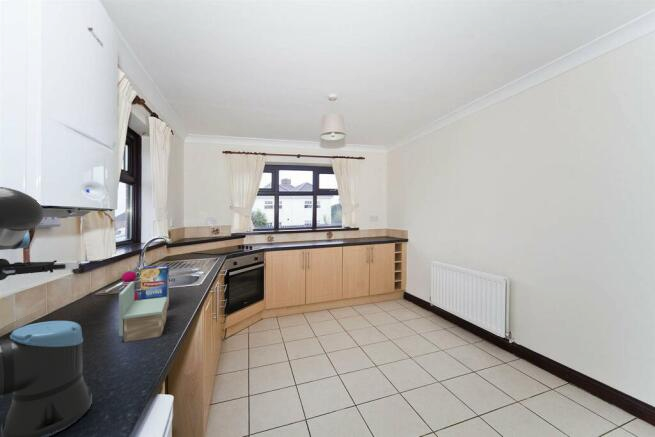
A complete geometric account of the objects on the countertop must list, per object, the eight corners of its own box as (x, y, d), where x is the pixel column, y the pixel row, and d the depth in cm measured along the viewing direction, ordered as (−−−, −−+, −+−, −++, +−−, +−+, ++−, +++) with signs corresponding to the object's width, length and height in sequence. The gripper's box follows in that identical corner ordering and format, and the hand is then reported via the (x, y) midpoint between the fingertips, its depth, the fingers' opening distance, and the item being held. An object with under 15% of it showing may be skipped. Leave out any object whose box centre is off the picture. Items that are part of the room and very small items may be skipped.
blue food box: (167, 311, 130) (167, 267, 130) (140, 314, 126) (140, 269, 125) (169, 306, 137) (168, 265, 136) (143, 309, 132) (143, 266, 131)
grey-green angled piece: (161, 329, 104) (161, 290, 104) (119, 336, 98) (118, 294, 98) (167, 312, 121) (167, 278, 121) (131, 317, 115) (130, 281, 115)
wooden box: (161, 336, 105) (161, 314, 105) (124, 342, 100) (124, 319, 99) (166, 319, 121) (166, 300, 121) (135, 323, 116) (134, 303, 115)
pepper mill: (123, 305, 137) (123, 267, 136) (139, 303, 139) (139, 266, 139) (118, 310, 130) (117, 270, 129) (135, 308, 133) (135, 269, 132)
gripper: (1, 276, 95) (85, 270, 106) (-27, 286, 84) (70, 278, 94) (0, 256, 95) (84, 252, 105) (-28, 262, 83) (70, 258, 94)
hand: (77, 264), depth 100 cm, fingers closed
